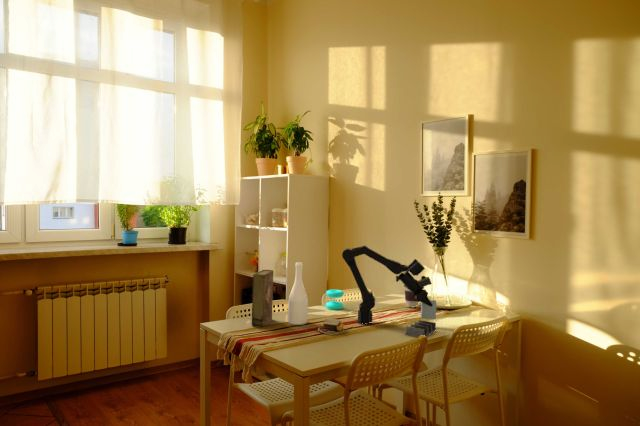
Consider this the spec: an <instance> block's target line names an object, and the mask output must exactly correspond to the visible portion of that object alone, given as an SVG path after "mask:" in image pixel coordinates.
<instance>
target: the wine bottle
mask: <svg viewBox="0 0 640 426" xmlns="http://www.w3.org/2000/svg"><path fill="white" fill-rule="evenodd" d="M303 267H304V264H303V262H301V261H300V262H299V261H298V262H295V276H294V277H295V278H294V282H293V285H292V287H291V291H290V293H289V296H288V305H287V306H288V307H287V308H288V309H287V310H288V311H287V321H288V324H290V325H293V326H294V325H295V326H302V325H305V324H307V322H308V309H309V307H308V306H309V305H308V303H309V300H308V295H307V292H306V288H305V285H304V282H303Z"/></svg>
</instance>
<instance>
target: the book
mask: <svg viewBox="0 0 640 426" xmlns="http://www.w3.org/2000/svg"><path fill="white" fill-rule="evenodd" d="M273 289H274V270H272V269H262V270H260V271H258V272H255V273H253V274H252V297H251V298H252V299H251V300H252V301H251V302H252V303H251V304H252V305H251V308H252V309H251V326H260V327H264V325H265V324H266V325H267V324H269V323H270V322H271V321H272V320H273V297H274V296H273V295H274V294H273V292H274V290H273ZM266 325H265V326H266Z"/></svg>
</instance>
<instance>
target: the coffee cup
mask: <svg viewBox="0 0 640 426" xmlns="http://www.w3.org/2000/svg"><path fill="white" fill-rule="evenodd" d="M403 287H404V300H405V306H406V305H409V306H416V305H418V301H417V300H416V298H415V297H416V296H414V295H413V293H412V292H411V291H410V290H409V289H408V288H407V287H406V286H405V285H404V284H403Z"/></svg>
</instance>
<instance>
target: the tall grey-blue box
mask: <svg viewBox="0 0 640 426" xmlns="http://www.w3.org/2000/svg"><path fill="white" fill-rule="evenodd" d="M429 300H430V302H431V303H432V305H433V306H432V307H431V306H429V305H427V304H424V303H422V302H420V304H421V306H420V320H421V319H422V320H423V319H424V320H436V319H437V317H436V316H437V299H429Z"/></svg>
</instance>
